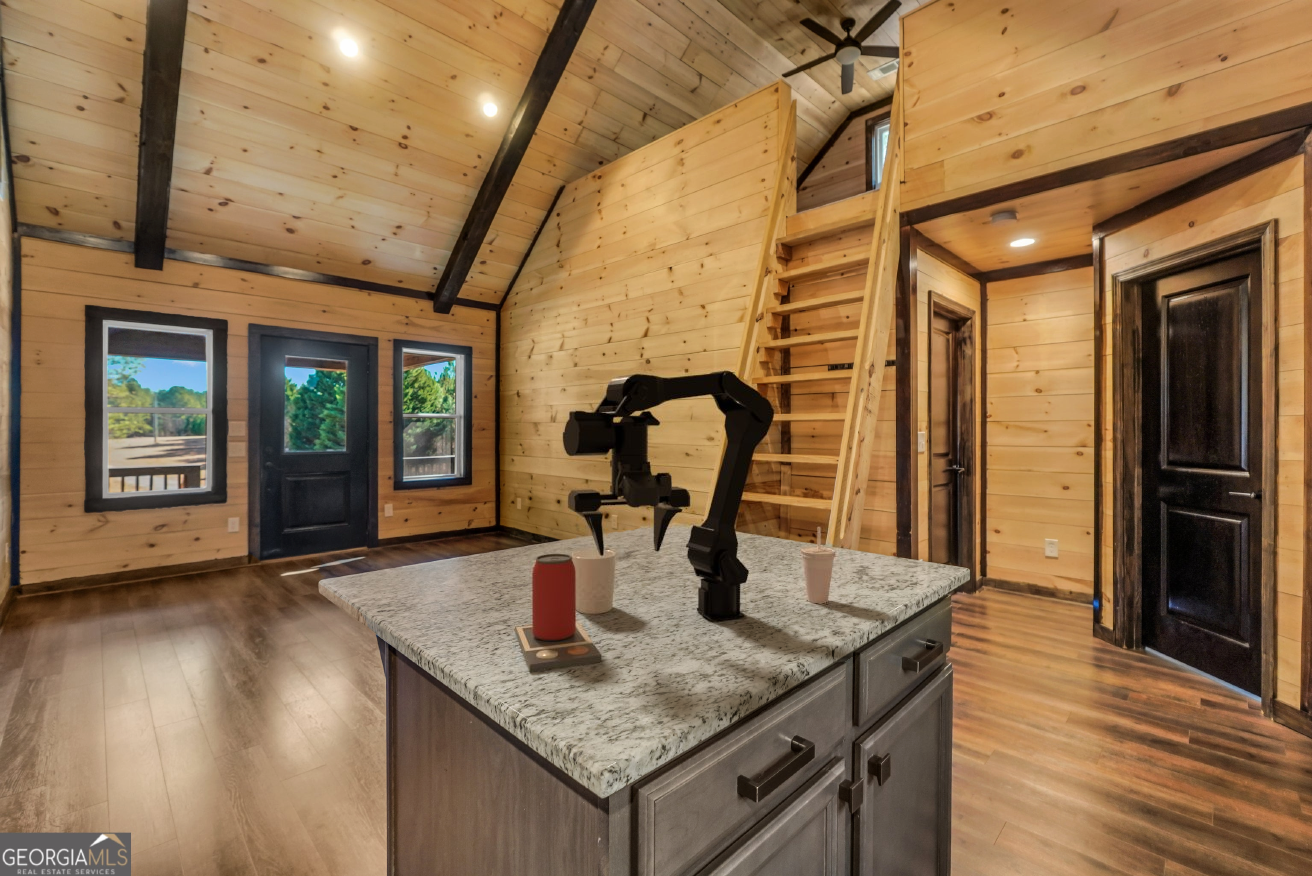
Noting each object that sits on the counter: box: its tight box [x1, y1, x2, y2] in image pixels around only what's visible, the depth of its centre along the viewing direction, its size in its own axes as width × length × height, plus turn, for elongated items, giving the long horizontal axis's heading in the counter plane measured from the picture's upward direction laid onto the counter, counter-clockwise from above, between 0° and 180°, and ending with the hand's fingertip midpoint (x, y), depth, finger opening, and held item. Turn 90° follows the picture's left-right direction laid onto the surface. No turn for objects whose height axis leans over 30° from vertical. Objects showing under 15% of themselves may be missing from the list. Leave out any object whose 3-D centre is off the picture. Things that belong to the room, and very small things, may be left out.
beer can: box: [531, 553, 577, 641], centre depth 91 cm, size 7×7×12 cm
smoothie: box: [800, 526, 837, 605], centre depth 112 cm, size 6×6×14 cm
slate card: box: [514, 619, 603, 673], centre depth 89 cm, size 10×16×1 cm, turn 20°
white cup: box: [571, 548, 617, 615], centre depth 107 cm, size 8×8×10 cm
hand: (629, 553), depth 94 cm, fingers open, 9 cm apart
